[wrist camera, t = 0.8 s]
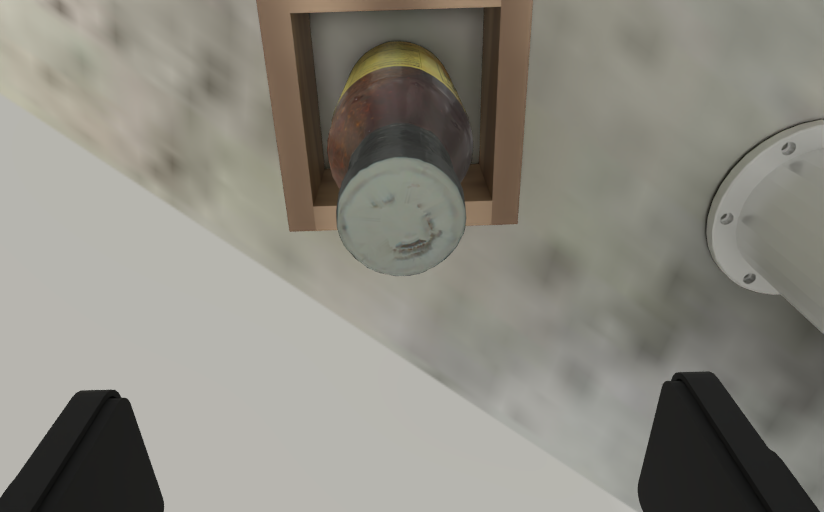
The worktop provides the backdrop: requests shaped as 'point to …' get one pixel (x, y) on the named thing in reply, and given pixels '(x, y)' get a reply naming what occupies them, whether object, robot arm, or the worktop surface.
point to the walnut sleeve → (300, 122)
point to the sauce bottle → (400, 160)
